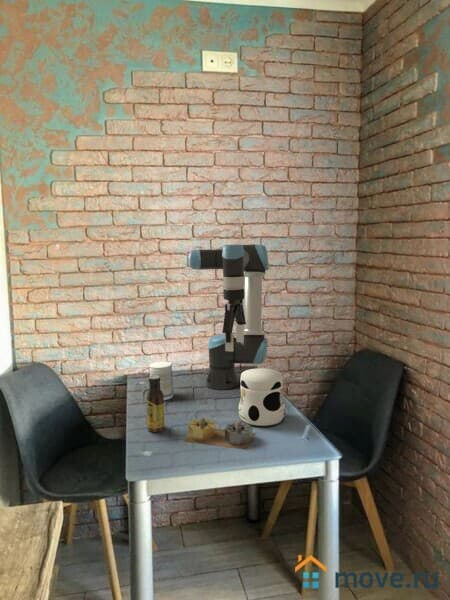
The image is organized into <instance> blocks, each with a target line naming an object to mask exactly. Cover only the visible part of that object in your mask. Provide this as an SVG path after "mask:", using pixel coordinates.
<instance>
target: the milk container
mask: <svg viewBox="0 0 450 600" xmlns="http://www.w3.org/2000/svg"><path fill="white" fill-rule="evenodd" d="M283 383H284V378H283V373H282V372H281V371H279V370H277V369H272V368H265V367H264V368H262V367H261V368H258V367H257V368H250V369H246V370H244V371H243V372H241V374H240V379H239V384H240V399H239V403H238V415H239V418H240V420H241V422H242V423H246V424H248V425H250V426H251V427H258V428H268V427H273V426H276V425H279V424H280V423H282V421H283V420H284V419H285V417H286V416H285V415H286V404H285V401H284V400H285V399H284V394H283V393H284V384H283Z"/></svg>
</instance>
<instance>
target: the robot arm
mask: <svg viewBox="0 0 450 600" xmlns="http://www.w3.org/2000/svg"><path fill="white" fill-rule="evenodd" d="M188 256H189V257H188V263H189V267H190V269H191V270H197V271H200V270H201V271H202V270H222V279H221V282H223V283H222V285H223V286H222V287H223V288H224V289H223V294H222V295H223V296H222V297H223V299H224V300H225V301H228V303H226V304H224V318H223V326H222V327H223V328H222V331H221V332H222V333H220V334H217V335H213V336H211V337H210V338H209V339H208V363H209V366H208V367H209V368H208V373H207V376H206V379H205V384H206V387H207V388H208V389H212V390H217V391H219V390H221V391H222V390H224V391H225V390H231V389H235V388H237V387H238V386H239V384H240V379H239V376H238V374H237V371H236V367H235V366H236V365H235V364H241V365H242V364H247V365H261V364H263V363H265V362H266V358H267V353H268V348H269V347H268V346H269V340H268V339H269V338H267V337H266V335H265V333H264V332H263V330H262V311H263V309H262V308H263V306H262V305H263V304H262V301H263V291H262V290H263V289H262V288H263V277H264V276H266V272H267V271H269V269H270V264H269V256H268V250H267V247H266V246H265V245H264V244H255V243H253V244H239V243H238V244H236V243H235V244H224V245H223V246H221V247H220V246H219V247H217V248H215V249H191V250H190V252H189V254H188ZM235 321H236V325H235V335H236V336H235V335H234V332H233V330H234V323H235Z"/></svg>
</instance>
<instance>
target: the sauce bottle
mask: <svg viewBox="0 0 450 600" xmlns="http://www.w3.org/2000/svg"><path fill="white" fill-rule="evenodd" d="M148 382H149V383H148V384H149V386H148V387H149V388H148V392H147V396H146V401H145V402H146V422H147V424H146V426H147V430H148V431H149V432H151V433H158V432H159V433H160V432H162V431H163V430H165V425H166V424H165V400H164V395H163V392H162V391H161V389H160V376H158V375H153V376H150V375H149V377H148Z"/></svg>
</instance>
